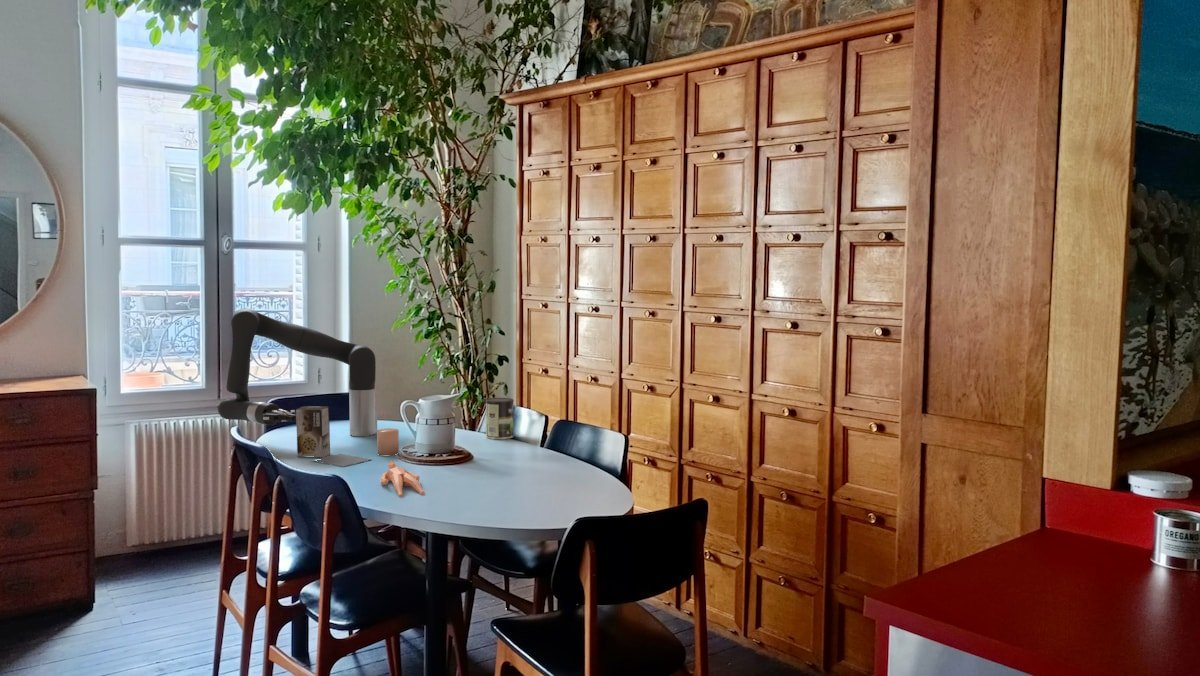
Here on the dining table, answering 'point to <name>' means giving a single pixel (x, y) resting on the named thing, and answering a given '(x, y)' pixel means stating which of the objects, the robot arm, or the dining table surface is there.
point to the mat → (342, 460)
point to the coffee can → (499, 418)
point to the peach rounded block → (387, 441)
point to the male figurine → (401, 479)
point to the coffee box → (313, 431)
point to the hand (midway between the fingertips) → (296, 418)
